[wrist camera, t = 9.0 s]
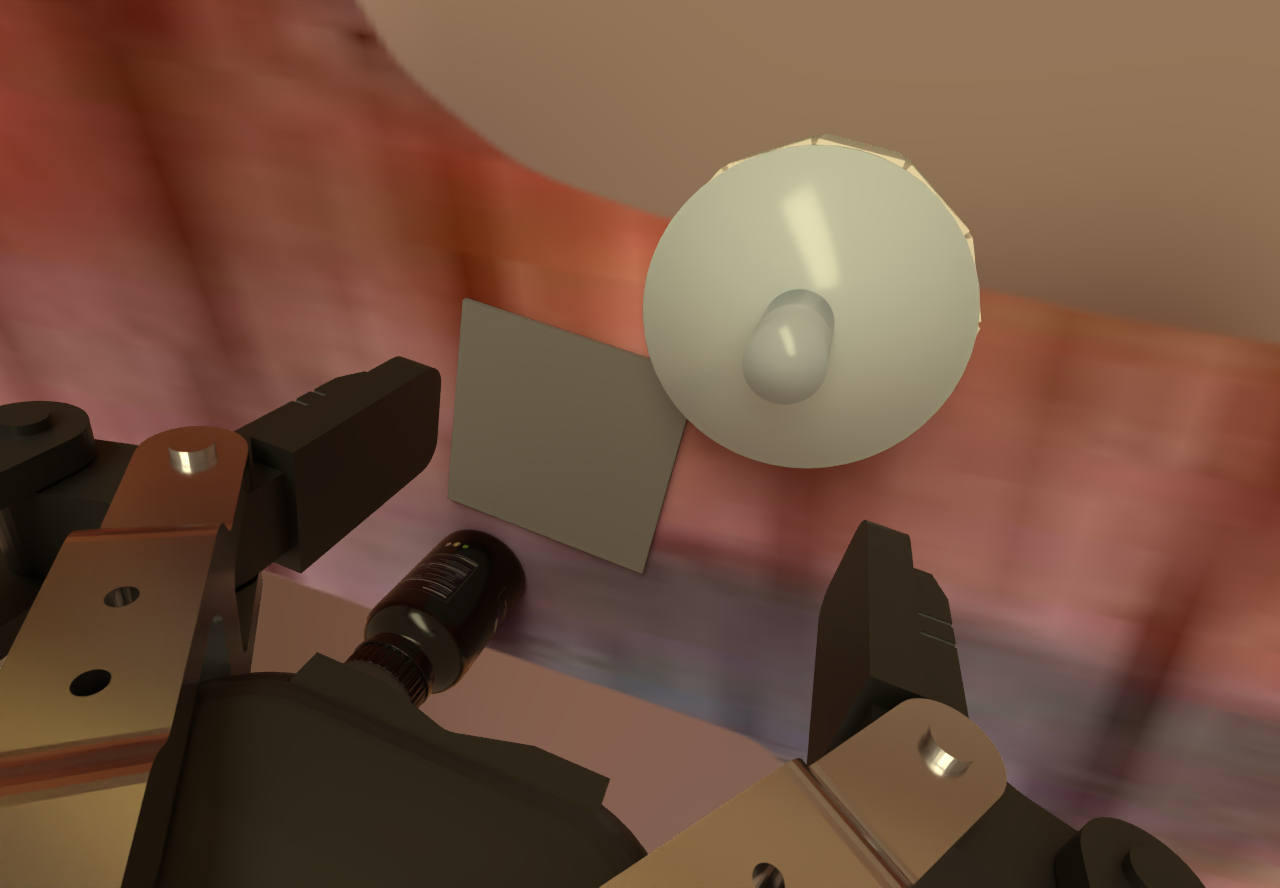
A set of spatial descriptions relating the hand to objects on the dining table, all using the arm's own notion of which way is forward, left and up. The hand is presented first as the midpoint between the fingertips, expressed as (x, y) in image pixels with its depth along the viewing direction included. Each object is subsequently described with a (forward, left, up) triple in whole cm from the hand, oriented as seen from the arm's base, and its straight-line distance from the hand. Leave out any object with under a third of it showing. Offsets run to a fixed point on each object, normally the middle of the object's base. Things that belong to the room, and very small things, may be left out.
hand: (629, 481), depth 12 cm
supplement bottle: (-13, -26, -23) cm, 37 cm away
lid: (+2, -1, -18) cm, 18 cm away
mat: (-9, -14, -23) cm, 28 cm away
